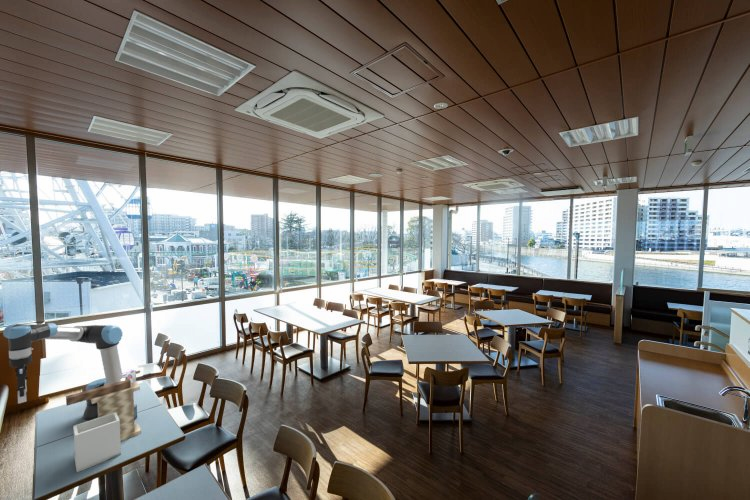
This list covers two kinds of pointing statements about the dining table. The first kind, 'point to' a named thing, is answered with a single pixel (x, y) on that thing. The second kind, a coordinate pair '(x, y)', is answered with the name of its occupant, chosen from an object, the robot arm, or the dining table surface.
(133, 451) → the dining table surface
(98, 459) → the white open box
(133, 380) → the candy box
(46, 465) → the dining table surface
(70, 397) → the walnut block
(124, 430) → the birch pedestal
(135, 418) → the flask
